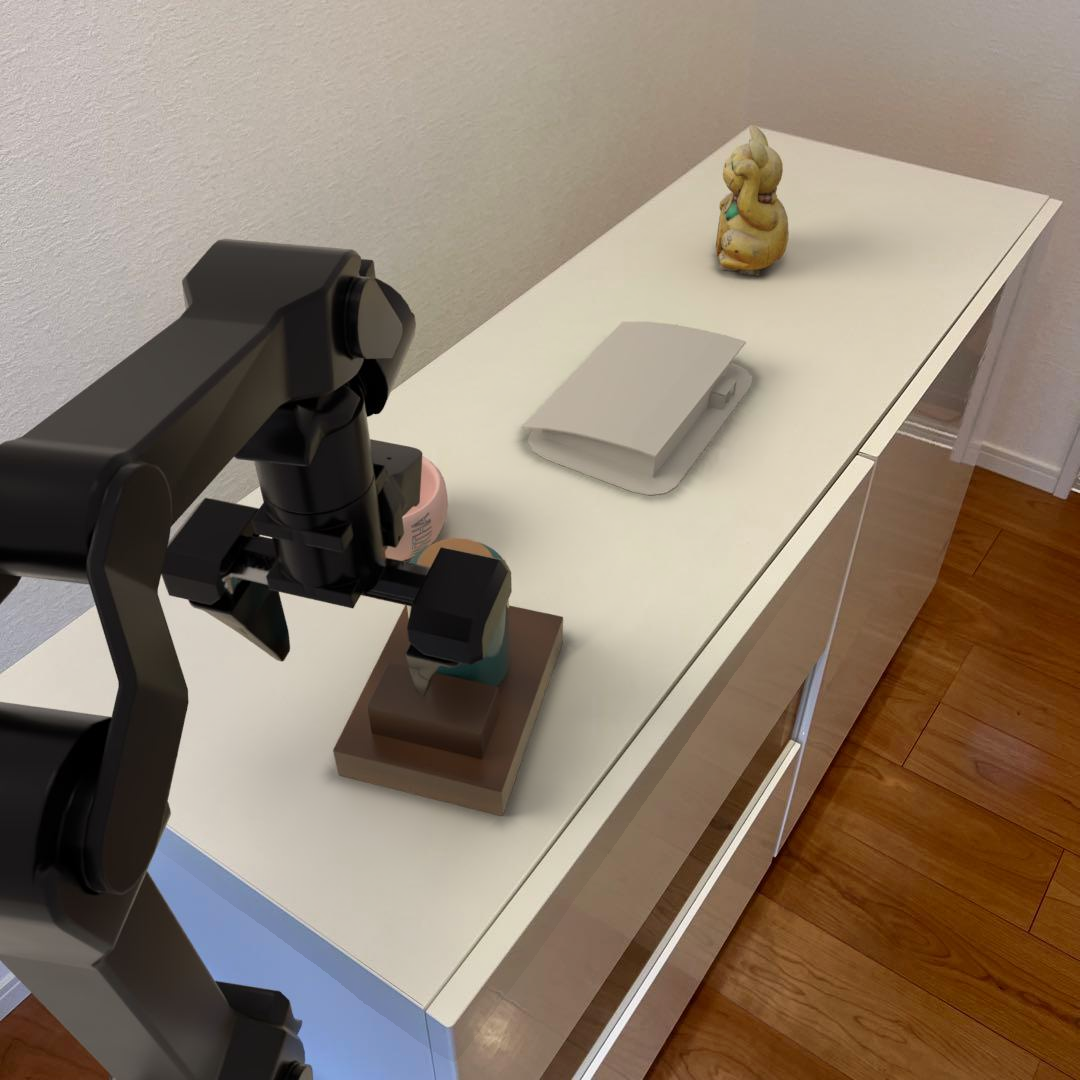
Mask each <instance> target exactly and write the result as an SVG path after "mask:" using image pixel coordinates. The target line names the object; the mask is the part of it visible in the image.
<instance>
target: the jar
mask: <svg viewBox="0 0 1080 1080" xmlns="http://www.w3.org/2000/svg"><path fill="white" fill-rule="evenodd" d="M441 547H443V548H450V549H455V550H460V551H464V552H469V553H474V554H479V555H484V556H488V557H493V558H498V559H503V560H504V558H503V557H502V556H501V555H500V554H499V552H497V551H496V550H495V549H493V548H492V547H490V546H489V545H486V544H484V543H482V542H479V541H476V540H474V539H473V540H472V539H468V538H464V537H461V538H460V537H453V538H452V537H451V538H445V539H442V540H438V541H436V542H433V543H432V544H431V545H430V546H428V547H426V548H424V549H423V550H421V551H420V552H418V553H417V554H416V555H415V556H414V557H412V558H410V561H409V563H414V564H418V565H423V566H428V567H431V566H432V564H433V562H434V560H435V558H436V556H437V554H438V552H439V550H440V548H441ZM509 606H510V598H509V599H508V602H507V604H506V606H505V609H504V611H503V613H502V616H501V618H500V621H499V623H498V625H497V628H496V630H495V632H494V635H493V637H492V639H491V642H490V644H489V647H488V649H487V651H486V654H485V656H484V658H483V660H481V661H478V662H476V663H473V664H471V665H467V664H463V663H460V664H459V665H458V666H456V667H445V666H440V667H439V668H438V670H437V671H436V672H435V673H439V674H443V675H448V676H452V677H456V678H461V679H465V680H470V681H474V682H479V683H483V684H487V685H492V686H497V685H499V684H500V683H501V681H502V680H503V679H504V678H505V676H506V674H507V672H508V670H509V666H510V626H509ZM407 609H408V617H409V616H410V611H411V606H407Z"/></svg>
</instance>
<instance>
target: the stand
mask: <svg viewBox="0 0 1080 1080" xmlns="http://www.w3.org/2000/svg"><path fill="white" fill-rule="evenodd" d="M408 621H409V617H408V609H407V605H404V607H403V609H402V611H401V613H400V615H399V616H398V618H397V621H396V623H395V625H394V627H393V629H392V631H391V633H390V635H389V637H388V639H387V641H386V643H385V645H384V647H383V648H382V651H381V653H380V655H379V656H378V659H377V661H376V663H375V665H374V667H373V669H372V671H371V672H370V675H369V677H368V679H367V681H366V683H365V685H364V687H363V689H362V691H361V693H360V695H359V697H358V699H357V701H356V703H355V705H354V706H353V709H352V711H351V713H350V715H349V717H348V719H347V721H346V723H345V725H344V726H343V729H342V731H341V733H340V735H339V737H338V738H337V741H336V743H335V745H334V747H333V749H332V752H333V753H332V754H333V757H334V761H335V766H336V771H337V775H338V776H341V777H345V778H349V779H353V780H356V781H357V780H358V781H360V782H365V783H369V784H373V785H377V786H381V787H385V788H389V789H392V790H398V791H401V792H405V793H410V794H413V795H418V796H420V797H424V798H425V797H426V798H428V799H433V800H437V801H441V802H446V803H450V804H453V805H457V806H461V807H464V808H469V809H472V810H477V811H481V812H484V813H489V814H493V815H497V816H500V817H502V816H504V813H505V811H506V808H507V804H508V802H509V798H510V797H511V796H510V795H511V793H512V790H513V787H514V784H515V781H516V778H517V775H518V772H519V770H520V767H521V764H522V761H523V758H524V755H525V752H526V749H527V746H528V743H529V741H530V738H531V735H532V732H533V729H534V727H535V724H536V721H537V718H538V715H539V711H540V710H541V705H542V704H543V700H544V697H545V694H546V691H547V689H548V686H549V683H550V680H551V677H552V674H553V671H554V669H555V665H556V663H557V659H558V657H559V654H560V651H561V648H562V645H563V642H564V640H563V639H564V638H563V637H564V616H561V615H556V614H551V613H547V612H542V611H538V610H532V609H528V608H524V607H518V606H513V605H509V626H510V666H509V670H508V672H507V674H506V676H505V678H504V679H503V680H502V681H501V683H500V684H499V685H497V686H492V685H487V684H483V683H479V682H474V681H470V680H465V679H461V678H456V677H452V676H448V675H443V674H439V673H435V674H434V677H433V679H432V682H431V684H430V687H429V689H428V691H427V693H426V695H425V696H423V695H419V694H418V692H417V690H416V689H415V687H414V684H413V680H412V676H411V672H410V668H409V664H408V661H407V657H406V652H407V650H408V648H409V646H410V644H411V643H410V642H409V641H408V633H407V626H408Z"/></svg>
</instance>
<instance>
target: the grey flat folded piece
mask: <svg viewBox="0 0 1080 1080" xmlns="http://www.w3.org/2000/svg"><path fill="white" fill-rule="evenodd" d="M746 344H747V341H746V340H743V339H740V338H736V337H733V336H730V335H727V334H724V333H723V334H722V333H717V332H714V331H709V330H705V329H700V328H694V327H691V326H690V327H689V326H684V325H679V324H674V323H664V322H655V321H621V322H620V323H619V324H618V326H617V327H616V328H614V329H613V331H612V332H611V333H610V334H608V336H607V337H606V338H604V339H603V341H602V342H601V343H600V344H599V345H598V346H597V347H596V348H595V349H594V350H593V352H592V353H590V355H589V356H588V357H587V358H586V359H585V360H584V361H583V362H582V363H580V365H579V366H578V367H577V368H576V369H575V370H574V371H573V373H571V375H570V376H568V377H567V379H565V380H564V382H563V383H562V384H561V385H560V386H559V387H558V388H557V389H556V390H555V391H554V392H553V393H552V394H551V395H550V396H549V397H548V398H547V399H546V400H545V401H544V403H543V404H541V406H539V408H537V410H536V411H535V412H534V413H533V414H532V415H531V416H530V417H529V418H528V419H527V420H526V421H525V423H523V424H522V425H521V429H527V430H528V429H530V430H531V432H530V433H529V436H528V438H527V441H526V443H527V444H528V446H529V448H530V449H531V451H532V452H533V453H534V454H536V455H538V456H539V457H541V458H543V459H544V460H547V461H549V462H552V463H555V464H558V465H561V466H563V467H566V468H567V469H571V470H574V471H577V472H579V473H581V474H584V475H586V476H589V477H592V478H595V479H598V480H599V481H602V482H606V483H608V484H611V485H613V486H616V487H619V488H621V489H624V490H626V491H629V492H632V493H636V494H641V495H646V496H655V495H665V494H667V493H669V492H670V491H672V490H674V489H675V488H676V487H678V485H679V483H680V482H681V481H682V479H683V478H684V476H686V474H687V473H688V472H689V470H690V468H691V467H692V466H693V465H694V464H695V462H696V461H697V459H698V458H699V456H700V455H701V454H702V453H703V451H704V450H705V449H706V448H707V446H708V444H709V443H710V442H711V441H712V439H713V438H714V437H715V435H716V434H717V433H718V431H719V430H720V428H722V426H723V424H724V423H725V422H726V421H727V419H728V418H729V416H730V415H731V414H732V412H733V411H734V410H735V408H737V406H738V404H739V403H740V401H742V399H743V398H744V396H745V395H746V394H747V393H748V391H749V390H750V388H751V387H752V383H753V376H752V374H751V373H750V372H749V371H748V370H747V369H746V368H744V367H742V366H740V365H738V364H736V363H734V362H732V361H733V360H734V359H735V357H736V356H737V355H738V354H739V352H740V351H741V350H742V349H743V347H744V346H745V345H746Z"/></svg>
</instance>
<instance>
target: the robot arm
mask: <svg viewBox="0 0 1080 1080" xmlns="http://www.w3.org/2000/svg"><path fill="white" fill-rule="evenodd" d="M181 284H182V285H181V287H182V292H183V300H184V301H183V302H184V307H185V310H184V311H183V313H182V314H181V315H180V316H179V317H178V318H177V319H176V320H175V321H173V322H172V323H171V324H169V325H167V327H165V328H164V329H162V330H161V331H160V332H159V333H157V334H156V335H155V336H153V337H152V338H150V339H149V340H148V341H147V342H145V343H144V344H143V345H141V346H140V347H138V349H136V350H135V351H133V352H132V353H131V354H129V355H128V356H126V357H125V358H124V359H123V360H122V361H120V362H118V363H117V364H116V365H115V366H113V367H112V368H111V369H110V370H108V371H107V372H105V373H104V374H103V375H101V376H100V377H99V378H98V379H96V380H95V381H94V382H92V383H91V384H89V385H88V386H87V387H85V388H84V389H83V390H82V391H79V392H78V393H77V394H76V395H75V396H73V397H72V398H71V399H70V400H68V401H67V402H66V403H64V404H63V405H62V406H60V407H59V408H58V409H56V410H54V411H53V413H51V414H50V415H48V416H47V417H46V418H44V419H43V420H42V421H40V422H39V423H38V424H36V425H35V426H34V427H32V428H31V429H30V430H29V431H27V432H26V433H25V434H23V435H22V436H19V437H16V438H15V439H11V440H5V441H3V442H2V443H0V605H2V603H3V602H4V601H5V600H6V599H7V598H8V597H9V596H10V595H11V593H12V592H13V591H14V590H15V588H17V586H18V585H19V584H20V581H21V579H22V577H25V578H30V579H38V580H39V579H40V580H49V581H56V582H64V583H71V584H81V585H89V588H90V591H91V594H92V598H93V601H94V605H95V608H96V612H97V615H98V618H99V621H100V624H101V628H102V632H103V635H104V639H105V641H106V645H107V648H108V652H109V654H110V659H111V661H112V665H113V668H114V671H115V675H116V679H117V682H118V683H117V684H118V685H117V691H116V695H115V699H114V704H113V709H112V714H111V716H109V715H102V714H101V715H100V714H92V713H86V712H80V711H72V710H64V709H58V708H57V709H56V708H50V707H48V708H47V707H43V706H35V705H29V704H28V705H27V704H22V703H21V704H19V703H13V702H7V701H5V702H4V701H0V962H1V963H2V964H3V965H4V966H5V967H6V968H7V969H8V970H9V971H10V972H11V973H12V975H14V976H15V977H16V979H17V980H18V981H20V983H21V984H22V985H23V986H24V987H25V988H26V989H27V990H28V991H29V992H30V993H31V994H32V995H33V996H34V997H35V999H37V1000H38V1001H39V1003H41V1004H42V1006H44V1007H45V1009H47V1011H48V1012H49V1013H50V1014H52V1015H53V1017H54V1018H56V1020H57V1021H58V1022H59V1023H60V1024H61V1025H62V1026H63V1027H64V1028H65V1029H66V1030H67V1031H68V1032H69V1033H70V1034H71V1036H73V1037H74V1038H75V1039H76V1040H77V1041H78V1043H79V1044H81V1046H82V1047H83V1048H85V1050H86V1051H87V1052H88V1053H89V1054H90V1055H91V1056H92V1057H93V1058H94V1059H95V1061H97V1062H98V1063H99V1064H100V1065H101V1066H102V1067H103V1068H104V1069H105V1070H106V1071H107V1073H109V1080H314V1071H313V1067H312V1065H311V1064H309V1063H306V1051H305V1047H304V1043H303V1041H302V1039H301V1038H300V1036H299V1033H300V1031H301V1029H302V1026H303V1020H302V1019H298V1018H295V1016H294V1013H293V1008H292V1003H291V1001H290V999H289V998H288V997H287V996H285V994H283V992H281V991H280V990H277V989H269V988H264V987H257V986H252V985H244V984H238V983H234V982H233V983H232V982H227V981H221V980H215V979H214V977H213V976H212V974H211V972H210V971H209V969H208V967H207V966H206V964H205V962H204V960H203V958H201V956H200V954H199V953H198V951H197V949H196V948H195V946H194V944H193V943H192V941H191V940H190V938H189V936H188V934H187V933H186V931H185V930H184V928H183V927H182V925H181V923H180V922H179V920H178V918H177V917H176V915H175V913H174V912H173V910H172V908H171V907H170V905H169V904H168V901H167V900H166V899H165V897H164V895H163V894H162V892H161V890H160V888H159V887H158V886H157V883H155V880H154V879H153V877H152V876H151V874H150V872H149V871H148V870H149V867H150V864H151V863H152V860H153V858H154V855H155V853H156V850H157V848H158V846H159V844H160V841H161V839H162V838H163V834H164V832H165V831H166V828H167V826H168V823H169V820H170V819H171V815H172V811H171V806H170V802H169V797H170V792H171V788H172V782H173V778H174V774H175V768H176V764H177V759H178V755H179V750H180V745H181V741H182V735H183V731H184V726H185V721H186V716H187V713H188V709H189V708H188V707H189V702H190V701H189V689H188V685H187V682H186V678H185V676H184V671H183V669H182V666H181V663H180V660H179V656H178V654H177V650H176V647H175V644H174V641H173V637H172V634H171V631H170V628H169V624H168V621H167V618H166V616H165V615H166V614H165V613H164V610H163V606H162V603H161V600H160V596H159V586H160V581H161V578H162V580H163V584H164V587H165V589H166V591H167V594H168V596H170V597H174V598H178V599H182V600H186V601H188V603H189V605H190V606H191V607H192V608H194V609H198V610H201V611H203V612H205V613H207V614H208V615H210V616H211V617H213V618H214V619H216V620H218V621H219V622H221V623H222V624H224V625H225V626H227V627H229V628H230V629H232V630H233V631H235V632H236V633H238V634H239V635H241V636H242V637H243V638H245V639H247V640H248V641H250V643H252V644H254V645H255V646H256V647H257V648H259V649H260V650H262V651H263V652H264V653H266V654H267V655H268V656H270V657H271V658H273V659H274V660H276V661H278V662H284V661H285V660H286V658H287V657H288V655H289V654H290V651H291V642H290V633H289V627H288V623H287V619H286V615H285V611H284V607H283V603H282V598H281V594H280V593H282V594H286V595H291V596H296V597H299V598H304V599H309V600H314V601H318V602H322V603H327V604H332V605H335V606H340V607H343V608H348V609H354V608H355V606H356V604H357V603H358V601H359V599H360V598H361V596H362V597H366V598H367V597H368V598H372V599H377V600H381V601H385V602H389V603H394V604H399V605H403V606H405V605H407V606H411V611H410V616H409V621H408V626H407V633H408V641H409V642H410V643H411V644H410V646H409V648H408V650H407V652H406V657H407V661H408V664H409V668H410V672H411V676H412V680H413V684H414V687H415V689H416V690H417V692H418V694H419V695H423V696H425V695H426V693H427V691H428V689H429V687H430V684H431V682H432V679H433V677H434V674H435V672H436V671H437V670H438V668H439V667H440V666H445V667H456V666H458V665H459V664H460V663H463V664H467V665H471V664H473V663H476V662H478V661H481V660H483V658H484V656H485V654H486V651H487V649H488V647H489V644H490V642H491V639H492V637H493V635H494V632H495V630H496V628H497V625H498V623H499V621H500V618H501V616H502V613H503V611H504V609H505V606H506V604H507V602H508V599H509V600H510V597H511V594H512V592H513V590H512V589H513V588H512V571H511V569H510V567H509V565H508V563H507V562H506V559H504V558H503V559H498V558H493V557H488V556H484V555H479V554H474V553H469V552H464V551H460V550H455V549H450V548H443V547H441V548H440V550H439V552H438V554H437V556H436V558H435V560H434V562H433V564H432V566H431V567H428V566H423V565H418V564H414V563H409V562H410V561H409V562H408V561H405V560H403V561H400V560H395V559H390V558H386V554H385V551H386V549H387V547H388V546H389V547H394V548H396V547H397V546H398V544H399V542H400V540H401V538H402V537H403V535H404V528H403V519H402V517H403V516H404V515H405V514H406V513H407V512H408V511H409V510H410V509H411V508H412V507H413V506H415V507H416V506H417V505H418V504H419V503H420V489H421V472H422V456H423V455H424V454H423V451H421V449H419V448H416V447H413V446H409V445H404V444H403V445H402V444H398V443H393V442H388V441H382V440H377V439H372V438H371V437H370V430H369V429H370V428H369V422H368V418H370V417H372V416H373V415H379V414H381V413H382V411H383V410H384V409H385V406H386V405H387V402H388V399H389V397H390V395H391V393H392V390H393V388H394V385H395V383H396V380H397V378H398V376H399V373H400V371H401V369H402V366H403V364H404V362H405V359H406V357H407V354H408V353H409V350H410V348H411V345H412V344H413V340H414V338H415V336H416V328H417V321H416V316H415V313H413V311H412V310H411V308H410V305H409V303H408V302H407V301H406V300H405V298H404V297H403V296H402V294H400V293H399V292H398V291H397V290H396V289H395V288H394V287H393V286H392V285H390V284H388V283H386V282H385V281H383V280H381V279H379V278H377V277H376V269H375V261H374V260H373V259H364V258H362V257H361V255H360V254H359V253H358V251H356V250H354V249H351V248H339V247H327V246H326V247H325V246H317V245H304V244H291V243H282V242H281V243H278V242H267V241H256V240H243V239H234V238H233V239H232V238H223V239H222V238H221V239H218V240H216V241H215V242H214V243H213V244H212V245H211V246H210V247H208V249H207V250H206V252H205V253H203V255H202V256H201V257H200V259H198V261H197V262H196V263H195V264H194V265H193V267H191V269H190V270H189V271H188V272H187V274H186V275H185V276H184V277H183V278H182V280H181ZM233 458H234V459H236V460H242V461H249V462H250V461H251V462H254V466H255V472H256V476H257V479H258V484H259V489H260V493H261V497H262V504H261V505H260V507H255V506H250V505H245V504H240V503H235V502H231V501H226V500H221V499H217V498H210V497H204V498H203V499H202V500H201V501H200V502H199V503H198V504H197V505H196V506H195V507H194V509H192V511H191V513H189V515H188V516H187V518H186V519H185V520H184V521H183V522H182V524H181V525H180V527H179V528H178V529H177V531H176V532H175V533H174V534H173V536H172V537H171V531H172V530H171V529H172V527H173V525H175V523H176V522H177V521H178V520H179V519H180V518H181V517H182V516H183V514H184V513H185V512H186V511H187V510H188V509H189V508H190V507H191V506H192V505H193V503H195V501H197V499H198V498H199V496H201V494H202V493H204V491H205V490H206V489H207V488H208V487H209V485H210V484H211V483H213V481H214V480H215V479H216V478H217V476H218V475H219V474H220V473H221V472H222V471H223V470H224V469H225V467H226V466H227V465H228V464H229V463H231V461H232V460H233ZM170 538H171V539H170Z"/></svg>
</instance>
